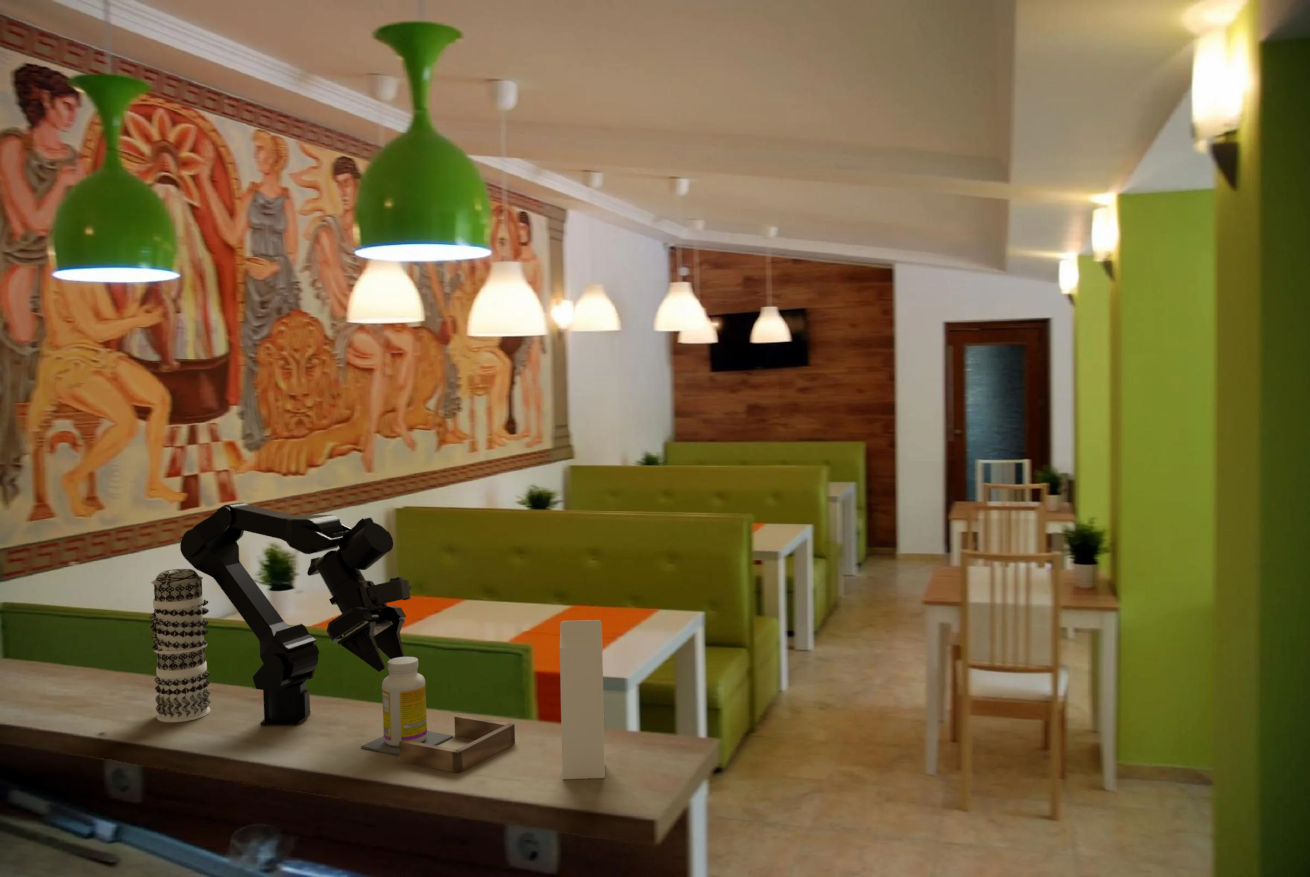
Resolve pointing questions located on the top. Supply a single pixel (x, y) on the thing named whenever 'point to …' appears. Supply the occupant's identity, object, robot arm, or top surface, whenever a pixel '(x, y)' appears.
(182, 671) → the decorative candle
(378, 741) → the mat
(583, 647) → the beige tall block
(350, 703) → the top surface
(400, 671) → the supplement bottle
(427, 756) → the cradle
